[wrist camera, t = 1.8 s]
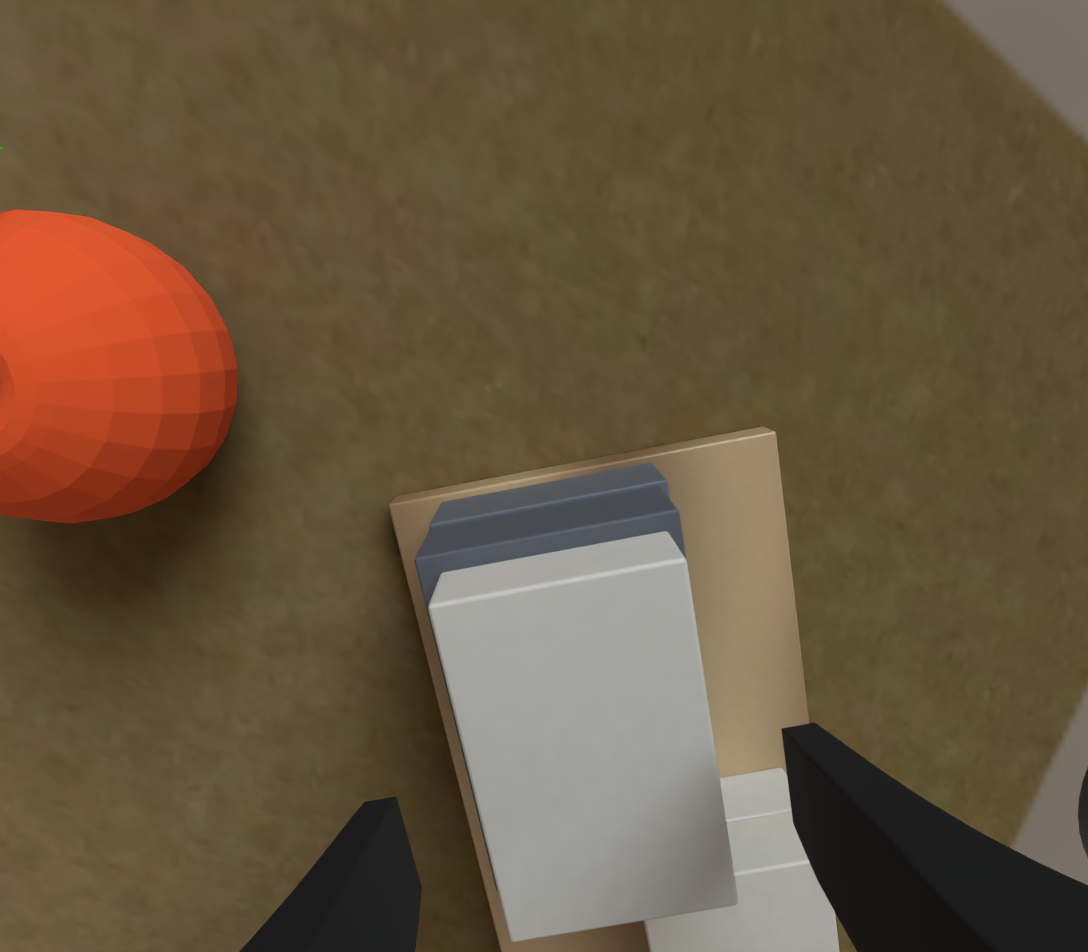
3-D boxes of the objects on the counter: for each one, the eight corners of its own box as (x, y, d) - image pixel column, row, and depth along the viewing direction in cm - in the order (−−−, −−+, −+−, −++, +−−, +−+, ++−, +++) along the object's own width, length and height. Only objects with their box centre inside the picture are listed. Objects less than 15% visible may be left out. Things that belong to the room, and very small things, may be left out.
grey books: (652, 461, 18) (688, 502, 14) (696, 743, 20) (740, 856, 16) (440, 501, 18) (411, 554, 14) (505, 777, 20) (496, 897, 16)
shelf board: (764, 425, 19) (776, 430, 18) (825, 939, 23) (837, 965, 22) (394, 495, 19) (387, 504, 18) (518, 989, 23) (517, 1018, 22)
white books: (782, 766, 20) (833, 857, 17) (808, 970, 22) (860, 1092, 18) (620, 794, 20) (637, 890, 17) (658, 995, 22) (681, 1120, 19)
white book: (667, 528, 14) (686, 557, 12) (717, 842, 16) (739, 906, 14) (439, 571, 14) (426, 606, 12) (513, 877, 16) (510, 945, 14)
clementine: (3, 193, 17) (-352, 102, 10) (265, 190, 17) (85, 97, 10) (56, 485, 19) (-219, 574, 12) (294, 482, 19) (155, 569, 12)
